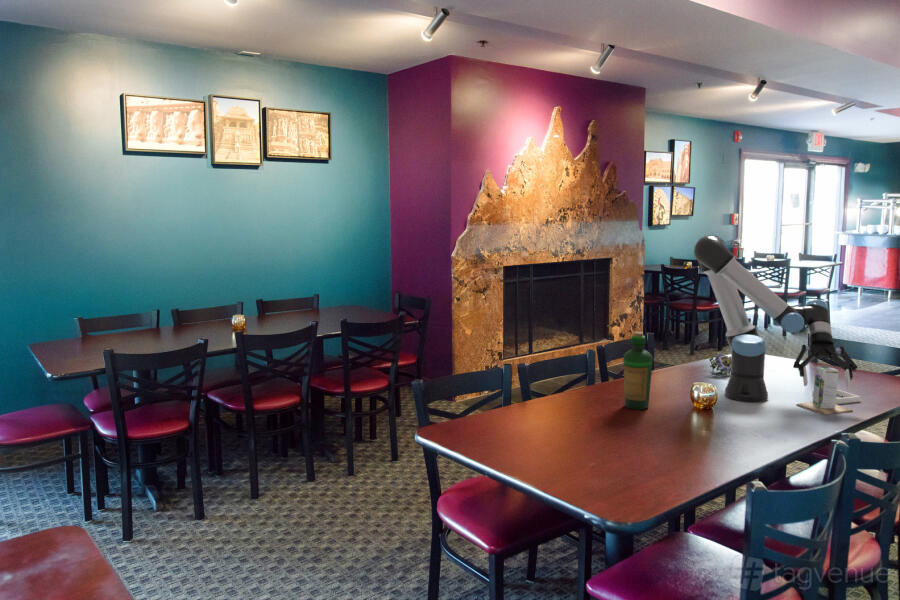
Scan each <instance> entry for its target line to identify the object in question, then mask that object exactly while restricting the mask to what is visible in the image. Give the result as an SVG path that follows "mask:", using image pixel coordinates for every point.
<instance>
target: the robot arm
mask: <svg viewBox="0 0 900 600" xmlns="http://www.w3.org/2000/svg"><path fill="white" fill-rule="evenodd" d="M693 254H694V257H695V259H696V260H697V262H698V265H699V267H700V271H701V272H702V273H703V274H705V275H707V278H708V280H709V283H710V285H711V288H712V291H713V293H714V296H715V299H716V301H717V304H718V307H719V309H720V312H721V316H722V318H723V321H724V323H725V327H726V329H727V331H726V333H725V337H726V340H727V343H728V345H729V347H730V348H729V349H730V351H731V352H730V353H731V372H730V375H729V379H728V382H727V384H726V387H725V389H724V396H725V397H727V398H728V399H731V400H735V401H737V402H738V401H739V402H745V403H746V402H747V403H760V402H765V401H768V398H769V393H768V390H767V385H766V382H765V362H766V361H765V359H766V349H767V346H766V345H767V344H766V341H765V339H764V338H763V337H761V336H759V333H758V330H757V328H756V325H753V324H752V323H750V320H749V318H748V315H747V311H746V309H745V307H744V304H743V301H742V298H741V295H740V293H739V291H740V292H741V293H742V294H743V295H745V297H747V298H748V299H749V301H751V302H752V303H753V304H755V305H756V306H758V308H760V309H761V310H762V311H763V312H764V313H765V314H767V315H768V316H769V317H770V318H771V319H772V325H774V327H781V328H782V329H783V330H784V331H785V332H787V333H790V334H791V333H792V334H796V333H799V332H800V331H802V330H803V328H804V326H807V329H808V337H809V346H807V345H806V344H802V345H801V349H800V352H799V354H798V356H797V358H796V359H795V360H794V364H793V366H792V367H793V369H798V371H799V372H798V373H799V377H801V378H803V386H804V387H806V386H807V385H808V372H807V366H808V365H809V364H810V363H811V362H812V361H813V360H815V359H816V358H817V359H819V360H820V359H825V360H828V359H829V360H831V362H832V361H833V362H834V363H836V365H838V366H839V367H840V368H841V369H843V370H844V378H845V384H846V389H849V390H850V388H851V387H852V382H851V381H852V380H853V378H854V377H853V376H854V375H853V373H854V372H856V371H857V369H858V365H857V364H856V363H855V361H853V359H852V358H851V357H850V355H849V354H848V353H847V352H846V350H845V348H844V346H840V347H835V346H834V340H833V332H832V327H831V319H830V311H829V308H828V304H827V303H826V301H824V300H822V299H812V300H809V301H808V302H806V304H805V305H803V306H791V305H789V304H788V303H787V302H786V301H785V300H784V299H782V298H781V297H780V296H779V295H778V294H776V293H775V292H774V291H773V290H772V289H770V287H768V286H767V285H766V284H764V283H763V281H761V280H759V278H757V277H756V275H754V274H753V273H752V272H750V270H748V269H747V268H745V266H744V265H742V264H741V263H740V262H739V261H737V259H736V255H735V254H734V253H732V252H731V251H730V250H729V249H728V248H727V245H726V242H725V241H724V239H722V238H721V237H720V236H718V235H714V234H708V235H704V236H703V237H700V238H699V239H698V240H697V242H696V243H695V246H694V248H693ZM738 290H739V291H738ZM808 351H809V352H810V353H811V354H810V355H808V356H807V357H806V358H805V359H804V360H803V361H802V359H803V358H804V356H805V353H807V352H808ZM838 355H840V357H839V356H838ZM801 361H802V362H801ZM800 362H801V363H800Z"/></svg>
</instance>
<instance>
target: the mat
mask: <svg viewBox="0 0 900 600" xmlns="http://www.w3.org/2000/svg"><path fill="white" fill-rule="evenodd" d="M797 405H798V407H800V406H801V407H800V408H802V407H804V408H803V409H805V408H807V409H806V410H808V409H809V410H808V411H811V410H812V411H811V412H814V411H815V412H814V413H816V414H819V413H820V415H822V414H823V416H826V415H827V414H828V415H835V414H843V413H850V412H853V411H854V410H853V409H851V408H848V407H845V406H843V405H841V404H836V405H835V409H823V408H818V407H817V406H815V405H813V401H811V402H810V401H809V402H801V403H796V406H797Z"/></svg>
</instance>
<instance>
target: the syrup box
mask: <svg viewBox="0 0 900 600" xmlns="http://www.w3.org/2000/svg"><path fill="white" fill-rule="evenodd" d="M839 373H840V372H839V370H838V369H836V368H834V367H833V366H828V365H817V366H815V374H814V384H813V391H814V393H813V396H812V402H813V405H815V406H817V407H818V408H823V409H835V405H836V398H837V396H838V395H837V389H838V384H839V383H838V381H839Z"/></svg>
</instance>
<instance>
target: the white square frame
mask: <svg viewBox="0 0 900 600" xmlns="http://www.w3.org/2000/svg"><path fill="white" fill-rule="evenodd" d="M811 393H812V394H811V396H812V397H813V393H814V390H812V392H811ZM838 395H839V397H836V404H837V405H843V404H852V403H860V402H861V398H862V397H861V396H860V395H857V394H853V393H851V392H847V391H844V390H840V389H838V388H837V395H836V396H838ZM842 396H843V397H842Z"/></svg>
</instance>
